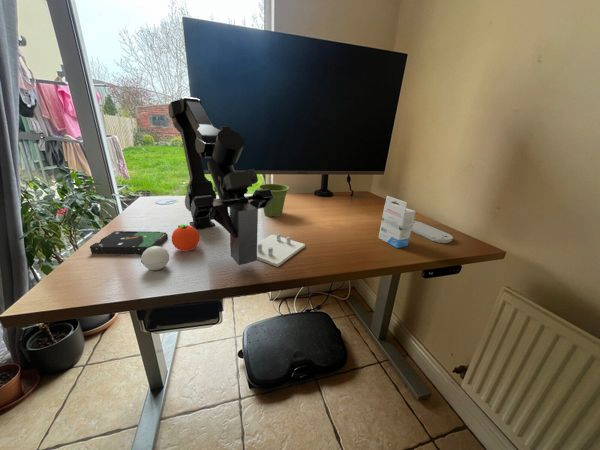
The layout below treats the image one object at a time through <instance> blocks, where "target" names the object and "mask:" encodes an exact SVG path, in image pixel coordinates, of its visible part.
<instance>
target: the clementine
mask: <svg viewBox="0 0 600 450" xmlns="http://www.w3.org/2000/svg"><path fill="white" fill-rule="evenodd" d="M200 240H201V237H200V233H199V231H198V229H195V228H194V227H193V226H192V225H189V224H188V225H186V224H180V225H179V224H178V226H177V228H176V229H174V231H173V232H172V235H171V244H172V245H173V246H174V248H175V249H177V250H179V251H181V252H189V251H192V250H194V249H195V248H196V247H197V246H198V245H199V243H200Z"/></svg>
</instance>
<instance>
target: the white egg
mask: <svg viewBox="0 0 600 450" xmlns="http://www.w3.org/2000/svg"><path fill="white" fill-rule="evenodd" d="M140 259H141V260H140V262H141V263H142V265H143V266H144V267H145V268H146V269H148V270H151V271H158V270H161V269H163V268H165V267H166V265H168V263H169V261H170V254H169V252H168V250H167V249H166V248H164V247H162V245H161V246H152V247H150V248H148V249H146V250H145V251H144V252H143V254H142V255H141V257H140Z"/></svg>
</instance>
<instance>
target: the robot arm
mask: <svg viewBox="0 0 600 450" xmlns="http://www.w3.org/2000/svg"><path fill="white" fill-rule="evenodd" d="M167 110H168V115H169V118H170V119H171V121H172V124H173V127H174V128H175V129H176V131H178V132H179V134H180V135H181V141H182V142H181V143H182V147H183V152H184V156H185V161H186V164H187V165H186V167H187V170H188V176H189V182H188V183H187V186H186V193H185V197H184V206H185V208H186V210H188V212H190V215H191V217H192V221H189V224H190V226H191V227H194V228H195V229H196V230H199V229H203V228H208V227H209V228H210V227H213V226H216V223H218V224H219V225H220V226H222V227H223V228H224V229H225V230H226V232H228V233H229V235H230V234H231V235H232V236H233V237H234V238H237V233H236V230H235V227H234V225H233V223H232V220H231V218H230V212H229V208H230V205H233V204H242V203H249V204H251V205H252V206H254V207H256V208H257V209H258V210H259V209H263V208H265V207H267V205H268V204H269V203H270V201H271V200H272V199H273V197H274V196H273V194H272V191H271V190H270V189H255V191H254V192H253V194H252V195H247V194H248V191H249V190H248V188H250V187H253V185H255V184H257V183H258V182H259V178H258V174H257V172H256V170H255V168H248V169H246V170H245V171H235V168H234V165H236V164H237V163H238V160H239V158H240V156H241V154H242V152H243V149H244V147H245V139H244V137H243V136H241V134H239V133H238V132H237V131H234V130H232V129H231V126H229V125H228V126H227V125H220V129H218V128H217V127H215V126H214V125H213V123H212V122H211V119H209V117H208V115H207V112H206V111H205V109H204V107H203V104H202V101H201V99H199V98H197V97H189V96H183V97H180V98H179V99H176V100H173V101H170V103H169V105H168V109H167ZM206 158H209V159H208V161H207V163H206V164H207V173H209V174H210V176H211V178H212V181H213V182H212V181H211V180H209V179H207V177H206V176H205V171H204V170H205V169H204V165H203V160H202V159H206ZM213 184H214V186H213ZM245 194H246V195H247V196H245ZM217 196H218V198H217ZM212 220H214V221H215V222H216V223H214V222H213V221H212Z"/></svg>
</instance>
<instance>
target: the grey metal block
mask: <svg viewBox="0 0 600 450" xmlns="http://www.w3.org/2000/svg"><path fill="white" fill-rule="evenodd" d="M229 216H230V218H231V220H232V223H233V225H234V227H235V230H236V233H237V238H234V237H233V236H232V235H231V234H230V233H229V240H230V241H229V242H230V244H229V246H230V257H231V258H232V259H233V260H234V261H235V263H236V264H237V265H238V266H242V265H245V264H249V263H253V262H257V260H258V259H257V242H258V231H259V230H258V228H259V227H258V226H259V225H258V223H259V222H258V221H259V220H258V219H259V217H258V216H259V209H257V208H256V207H254V206H252V205H251V204H249V203H242V204H233V205H230V207H229Z"/></svg>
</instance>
